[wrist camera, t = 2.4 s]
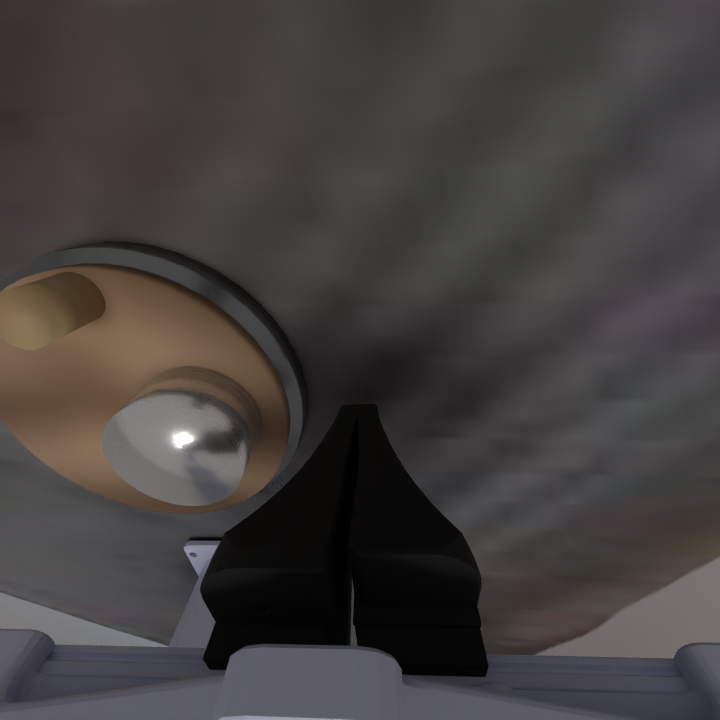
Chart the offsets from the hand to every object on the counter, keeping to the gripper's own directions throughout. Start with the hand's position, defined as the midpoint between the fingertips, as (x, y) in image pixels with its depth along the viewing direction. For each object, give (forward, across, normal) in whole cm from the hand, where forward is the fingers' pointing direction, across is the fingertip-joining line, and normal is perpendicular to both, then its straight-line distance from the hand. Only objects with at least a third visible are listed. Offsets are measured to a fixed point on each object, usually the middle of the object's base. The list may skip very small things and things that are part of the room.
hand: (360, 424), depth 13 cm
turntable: (+2, +10, 0) cm, 10 cm away
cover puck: (+1, +7, 0) cm, 7 cm away
